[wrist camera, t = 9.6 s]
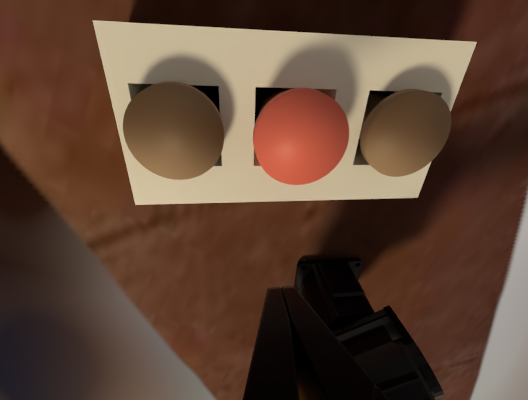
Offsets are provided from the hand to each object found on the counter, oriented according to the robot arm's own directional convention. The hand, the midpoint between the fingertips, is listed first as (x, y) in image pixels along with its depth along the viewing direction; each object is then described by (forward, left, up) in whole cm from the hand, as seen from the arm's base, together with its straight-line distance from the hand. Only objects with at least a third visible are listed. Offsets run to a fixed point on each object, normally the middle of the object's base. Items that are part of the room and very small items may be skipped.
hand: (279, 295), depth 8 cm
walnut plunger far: (+3, -8, -13) cm, 15 cm away
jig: (+3, -2, -13) cm, 13 cm away
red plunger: (+3, -2, -12) cm, 12 cm away
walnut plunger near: (+3, +4, -13) cm, 14 cm away
